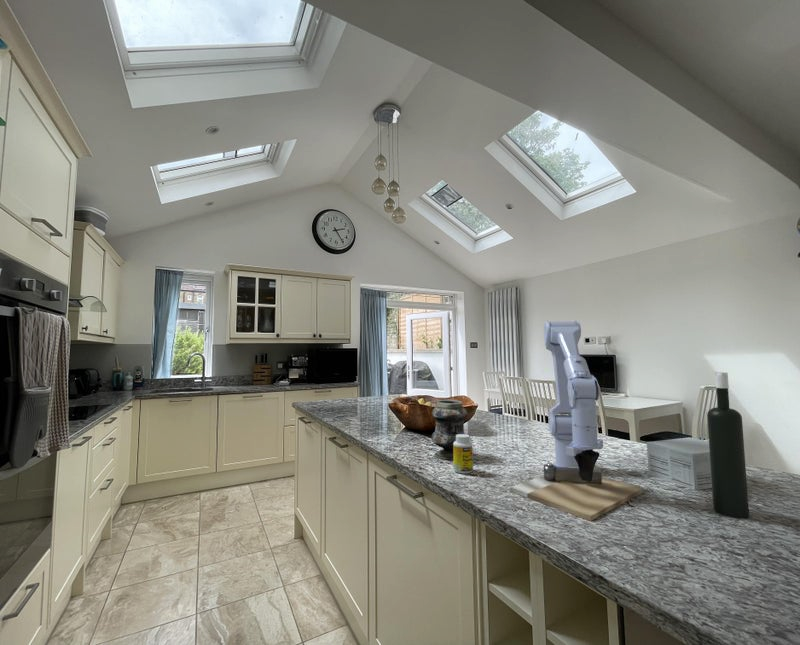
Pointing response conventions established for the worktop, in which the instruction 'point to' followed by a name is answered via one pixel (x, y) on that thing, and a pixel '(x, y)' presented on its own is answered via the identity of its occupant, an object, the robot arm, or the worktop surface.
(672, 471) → the supplement box
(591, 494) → the door board
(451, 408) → the dark grey vase
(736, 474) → the wine bottle
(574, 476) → the swing bar
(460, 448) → the supplement bottle
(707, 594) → the worktop surface
